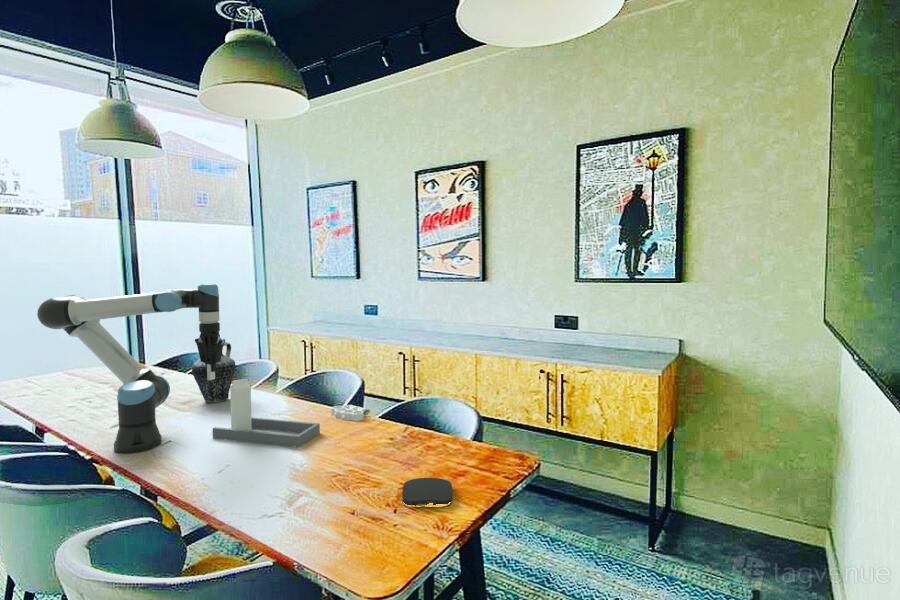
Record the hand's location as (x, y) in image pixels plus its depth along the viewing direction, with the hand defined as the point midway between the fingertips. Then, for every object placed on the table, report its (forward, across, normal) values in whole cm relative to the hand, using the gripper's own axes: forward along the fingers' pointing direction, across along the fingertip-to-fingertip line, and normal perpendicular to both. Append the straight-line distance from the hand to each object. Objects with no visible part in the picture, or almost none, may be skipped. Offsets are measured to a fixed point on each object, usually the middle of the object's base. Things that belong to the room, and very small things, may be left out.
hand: (211, 379), depth 200 cm
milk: (+21, -14, 0) cm, 25 cm away
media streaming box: (+22, -102, +33) cm, 109 cm away
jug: (+21, +29, -38) cm, 52 cm away
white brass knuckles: (+22, -46, -33) cm, 60 cm away
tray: (+21, -25, 0) cm, 32 cm away
